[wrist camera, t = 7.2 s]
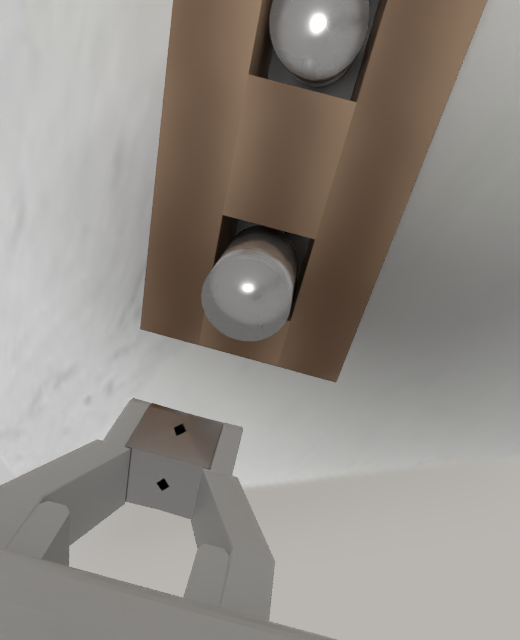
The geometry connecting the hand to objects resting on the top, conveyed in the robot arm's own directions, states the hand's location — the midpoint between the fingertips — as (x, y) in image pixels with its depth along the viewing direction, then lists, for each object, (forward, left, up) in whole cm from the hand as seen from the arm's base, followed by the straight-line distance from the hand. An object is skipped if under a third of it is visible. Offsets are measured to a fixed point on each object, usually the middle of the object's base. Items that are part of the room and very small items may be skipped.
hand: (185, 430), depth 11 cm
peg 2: (0, -11, -18) cm, 21 cm away
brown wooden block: (0, -6, -18) cm, 19 cm away
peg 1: (0, 0, -14) cm, 14 cm away
